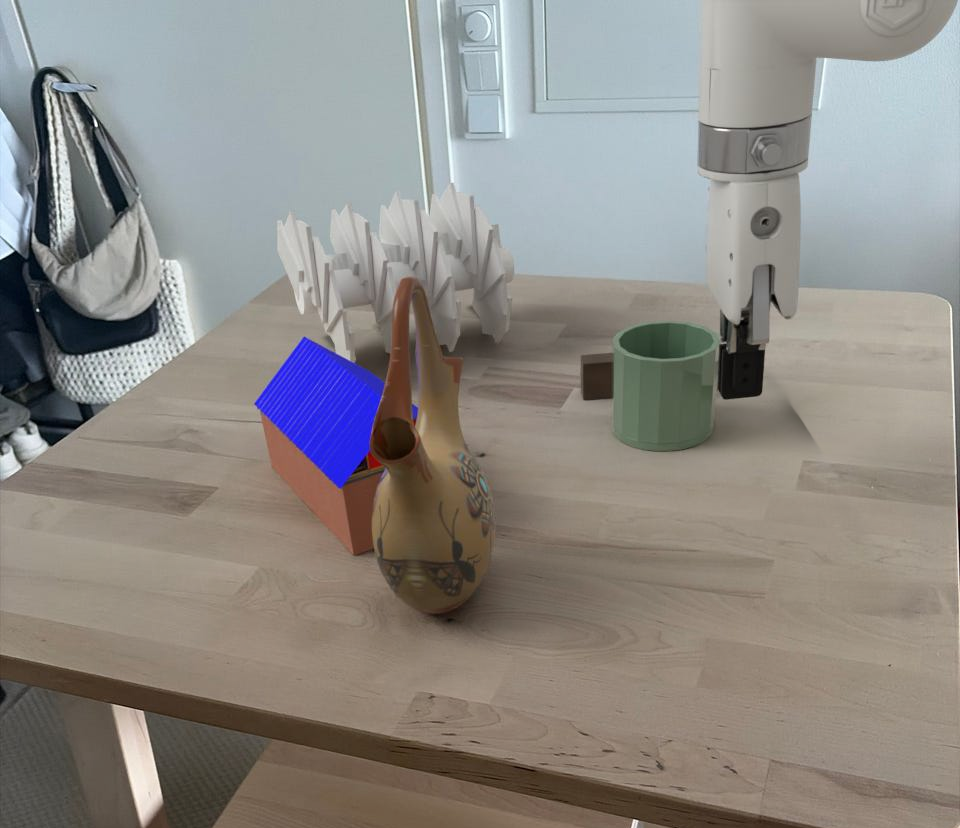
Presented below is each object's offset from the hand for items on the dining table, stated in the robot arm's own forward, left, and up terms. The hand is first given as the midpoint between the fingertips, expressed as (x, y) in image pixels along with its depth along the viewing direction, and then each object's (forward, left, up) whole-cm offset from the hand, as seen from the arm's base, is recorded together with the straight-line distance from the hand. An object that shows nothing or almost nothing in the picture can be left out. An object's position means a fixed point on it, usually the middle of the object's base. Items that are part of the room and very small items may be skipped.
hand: (739, 393), depth 82 cm
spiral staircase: (+28, -40, -11) cm, 50 cm away
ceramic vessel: (+25, +10, -11) cm, 29 cm away
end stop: (+3, -25, -11) cm, 27 cm away
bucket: (+3, -16, -11) cm, 20 cm away
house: (+32, -8, -11) cm, 35 cm away
